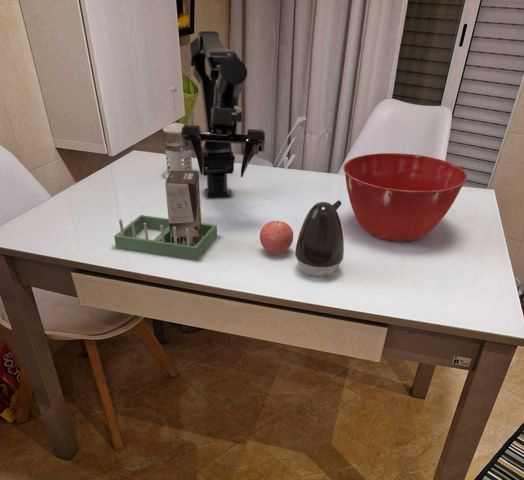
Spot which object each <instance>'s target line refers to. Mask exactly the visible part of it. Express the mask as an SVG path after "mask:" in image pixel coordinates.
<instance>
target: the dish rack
mask: <svg viewBox="0 0 524 480" xmlns="http://www.w3.org/2000/svg"><path fill="white" fill-rule="evenodd" d="M118 223H119V230H120V231H119V232H117V233H115V235H114V236H113V238H114V243H115V249H119V250H120V249H121V250H127V251H134V252H141V253H148V254H153V255H160V256H165V257H173V258H181V259H186V260H192V261H198V260H199V259H200V258H202V256H203V255H204V253H205V252H206V251H207V250H208V249H209V248H210V246H211V245H212V244H213V243H214V242H215V240H216V239H217V238H218V225H217V224H209V223H204V222H203V223H202V222H201V223H202V239H201V240H200V241H199V242H198V243H197V244H196V245H195V246H190V242H189V229H186V239H187V245H182V244H177V236H176V227H173V234H174V243H171V240H170V230H169V219H168V218H165V217H158V216H152V215H143V214H140V215H138V216H137V217H136V218H135V219H133V220H131V221H130V222H129V223H128V224H127V225H126V226H123V219H121V218H119V219H118ZM143 229H144V238H142V237H137V234H138V233H139V232H140V231H142V230H143ZM148 229H150V230H155V231H156V230H157V231H160V233H159V234H158V235H157V236H156V237H155V238H154V239H149V232H148Z"/></svg>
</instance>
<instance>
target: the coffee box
mask: <svg viewBox="0 0 524 480" xmlns="http://www.w3.org/2000/svg"><path fill="white" fill-rule="evenodd" d="M200 193H201V192H200V170H192V171H171V172H170V174H169V176H168V178H166V180H165V194H166V207H167V219H169V230H170V240H171V243H174V234H173V227H176V236H177V244H182V245H187V239H186V229H189V242H190V246H195V245H196V244H197V243H198V242H199V241H200V240H201V239H202V237H203V236H202V210H201V208H202V207H201V194H200Z"/></svg>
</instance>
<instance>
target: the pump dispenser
mask: <svg viewBox="0 0 524 480" xmlns="http://www.w3.org/2000/svg"><path fill="white" fill-rule="evenodd" d="M341 205H342V201H341V200H337V201H335V202H334V203H333V204H332V203H330V202H327V201H320V202H317V203H315V204H314V205H312V206H311V208H310V209H309V210H308V212H307V214H306V216H305V218H304V220H303V222H302V225H301V228H300V231H299V234H298V237H297V241H296V245H295V252H294V254H295V258H296V259H297V260H296V261H297V264H298V266H299V267H300V269H301V271H303V272H304V273H305V274H307V275H310V276H313V277H326V276H329V275H331V274H333V273H334V272H336V270H337V269H338V268H339V267H340V265H341V262H342V261H343V259H344V256H345V255H344V254H345V253H344V252H345V245H344V244H345V243H344V232H343V227H342V223H341V218H340V216H339V213H338V209H339V208H340V206H341Z"/></svg>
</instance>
